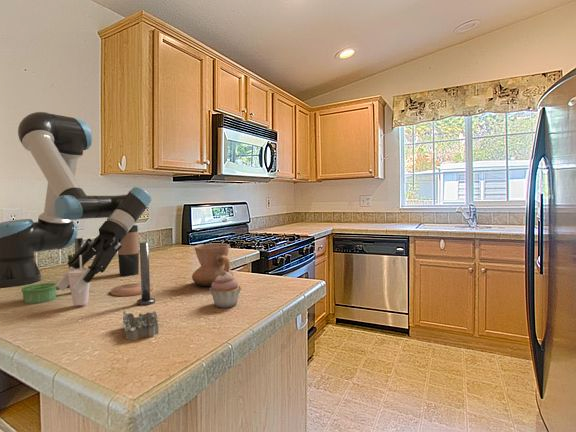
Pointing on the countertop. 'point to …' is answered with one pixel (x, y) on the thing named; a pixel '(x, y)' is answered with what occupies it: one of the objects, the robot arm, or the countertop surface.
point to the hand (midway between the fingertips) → (67, 289)
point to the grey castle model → (140, 325)
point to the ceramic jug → (211, 262)
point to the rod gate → (144, 271)
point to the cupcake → (225, 290)
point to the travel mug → (129, 253)
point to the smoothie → (73, 278)
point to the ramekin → (39, 293)
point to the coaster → (128, 289)
